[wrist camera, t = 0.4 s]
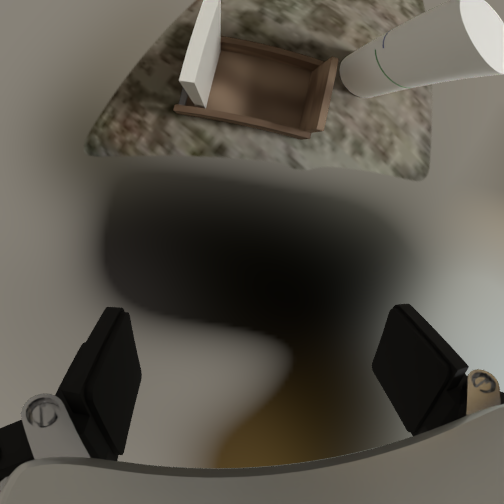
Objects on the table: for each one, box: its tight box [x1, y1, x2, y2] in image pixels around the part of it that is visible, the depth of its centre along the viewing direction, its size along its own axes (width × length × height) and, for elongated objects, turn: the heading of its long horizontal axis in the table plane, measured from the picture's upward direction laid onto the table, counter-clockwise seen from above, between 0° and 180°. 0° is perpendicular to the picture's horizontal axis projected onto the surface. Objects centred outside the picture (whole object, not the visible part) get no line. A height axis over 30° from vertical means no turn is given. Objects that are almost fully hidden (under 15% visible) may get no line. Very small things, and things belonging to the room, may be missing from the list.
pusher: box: [179, 0, 221, 109], centre depth 25 cm, size 8×1×16 cm, turn 168°
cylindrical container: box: [339, 0, 504, 98], centre depth 23 cm, size 7×7×25 cm
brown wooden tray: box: [173, 36, 339, 139], centre depth 30 cm, size 11×17×9 cm, turn 78°
